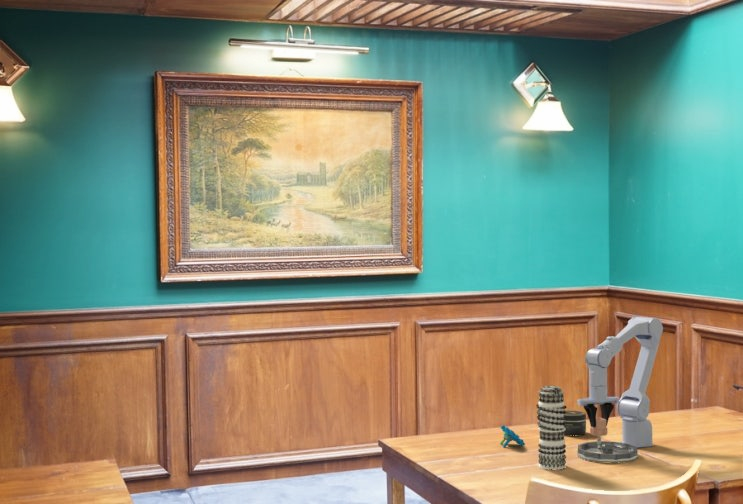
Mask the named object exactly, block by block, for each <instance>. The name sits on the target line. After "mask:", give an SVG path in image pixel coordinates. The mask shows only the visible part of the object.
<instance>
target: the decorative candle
mask: <svg viewBox="0 0 743 504" xmlns="http://www.w3.org/2000/svg"><path fill="white" fill-rule="evenodd" d="M537 392H538V399H539V400H538V404H536V405H535V406H536V409H538V410H537V411H536V415H537V416H536V418H537V420H538V422H537V424H536V425H537V427H538V428H537V430H538V431H539V438H538V443H539V444H537V445H538V446H537V447H538V449H537V450H538V453H539V454H538V455H537V458H538V468H539V469H541V470H546V469H548V470H547V471H554V470H553V469H562V470H564V469H563V468H565V467H566V468H567V465H566V464H567V461H566V458H567V455H566V452H567V451H566V449H565V448H566V447H567V445H566V439H565V435H564V431H565V430H566V429H565V428H564V425H566V423H565V422H564V420H566V417H564V416H563V414H565V413H567V412H566V411H567V410H566V409H567V406H566V405H565V401H564V399H565V396H564V395H565V394H564V393H565V391H564V390H562V388H561V387H560V386H559V385H558V386H557V385H545V386H543V385H542V387H541V388H540V390H537ZM566 468H565V469H566ZM549 469H550V470H549ZM551 469H552V470H551Z"/></svg>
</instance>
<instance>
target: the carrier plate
mask: <svg viewBox="0 0 743 504" xmlns="http://www.w3.org/2000/svg"><path fill="white" fill-rule="evenodd" d="M596 439H597V440H596V441H587V442H586V441H585V442H582V443H580V444H577V457H578V458H579V457H580V458H579V459H581V458H582V459H581V460H584V459H585V460H584V461H587V460H589V461H588V462H592V461H595V462H594V463H599V462H611V463H610V464H619V463H618V462H622V463H621V464H624V463H623V462H625V463H631V462H635V461H636V460H638V459H639V458H638V454H639V452H638V448H637V447H635V446H633V445H630V444H627V443H620V442H621V441H611V440H610V441H607V440H606V441H604V440H603V441H602V438H601V436H597V438H596Z"/></svg>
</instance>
